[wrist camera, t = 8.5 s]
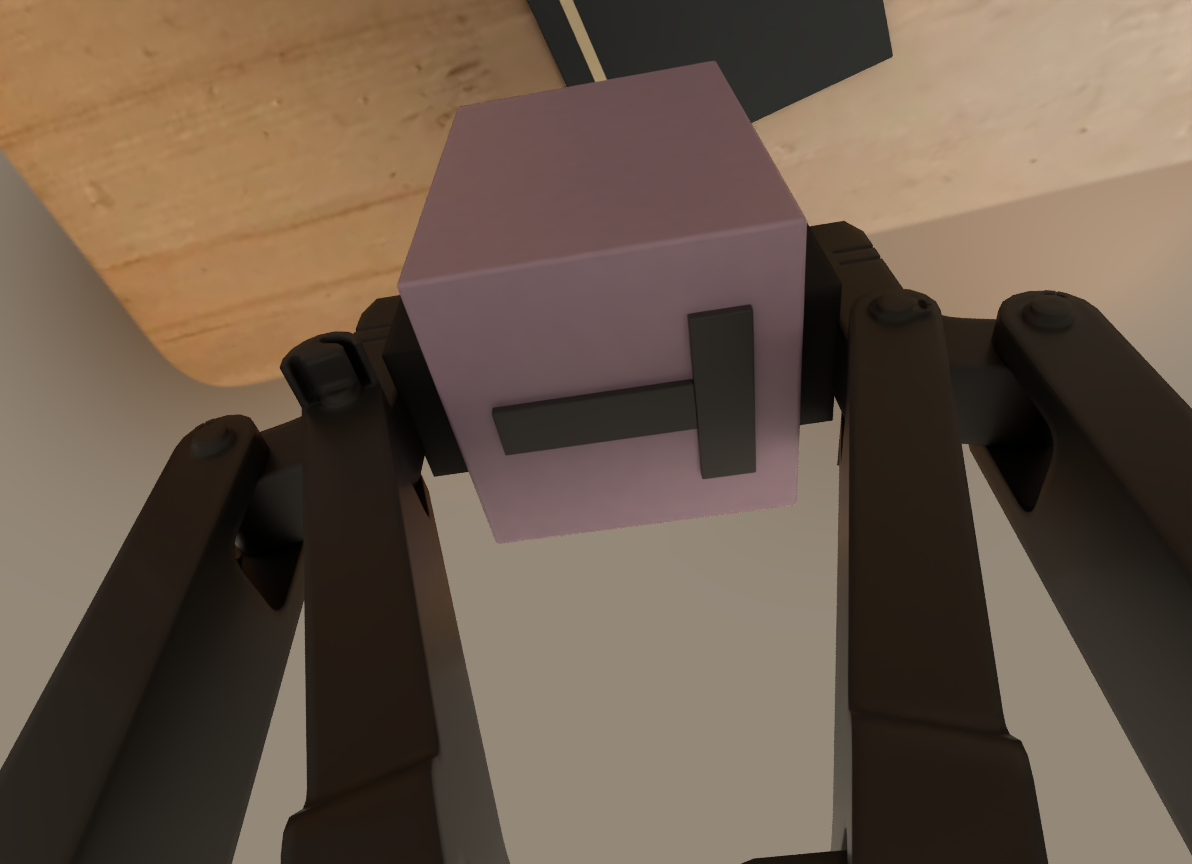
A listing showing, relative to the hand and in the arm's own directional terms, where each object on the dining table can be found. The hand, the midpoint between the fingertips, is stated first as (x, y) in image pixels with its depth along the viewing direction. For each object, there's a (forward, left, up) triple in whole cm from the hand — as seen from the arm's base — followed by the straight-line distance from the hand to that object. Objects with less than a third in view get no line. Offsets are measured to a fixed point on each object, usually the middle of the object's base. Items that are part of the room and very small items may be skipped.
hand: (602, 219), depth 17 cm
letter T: (0, 0, 0) cm, 0 cm away
